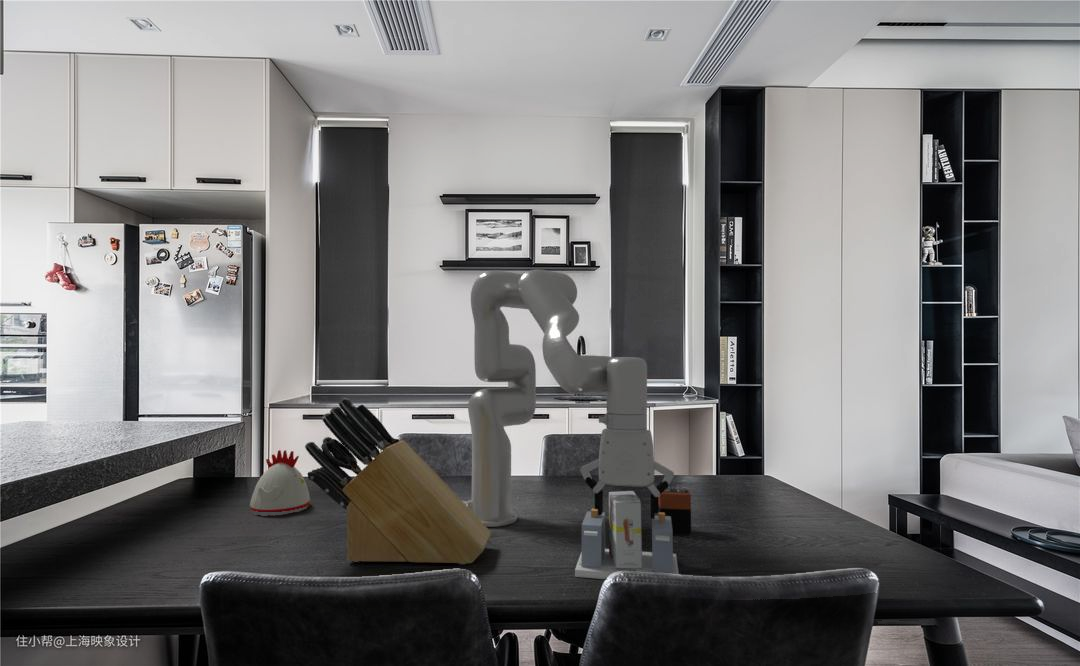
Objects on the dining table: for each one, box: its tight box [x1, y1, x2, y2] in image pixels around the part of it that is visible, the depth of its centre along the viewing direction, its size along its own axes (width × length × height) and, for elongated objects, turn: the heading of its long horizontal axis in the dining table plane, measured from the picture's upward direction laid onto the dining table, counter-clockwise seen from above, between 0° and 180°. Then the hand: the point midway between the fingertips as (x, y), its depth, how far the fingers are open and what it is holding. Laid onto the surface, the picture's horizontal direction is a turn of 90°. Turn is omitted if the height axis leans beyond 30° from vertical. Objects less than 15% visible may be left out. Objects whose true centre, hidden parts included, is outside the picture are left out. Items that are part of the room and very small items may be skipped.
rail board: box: [574, 507, 680, 580], centre depth 100 cm, size 18×12×10 cm, turn 78°
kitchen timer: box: [249, 449, 311, 512], centre depth 140 cm, size 14×14×15 cm
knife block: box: [304, 397, 492, 565], centre depth 107 cm, size 11×35×31 cm, turn 87°
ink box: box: [608, 490, 643, 568], centre depth 100 cm, size 9×5×12 cm, turn 1°
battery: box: [658, 486, 692, 536], centre depth 122 cm, size 4×7×10 cm, turn 83°
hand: (626, 515), depth 101 cm, fingers open, 9 cm apart
